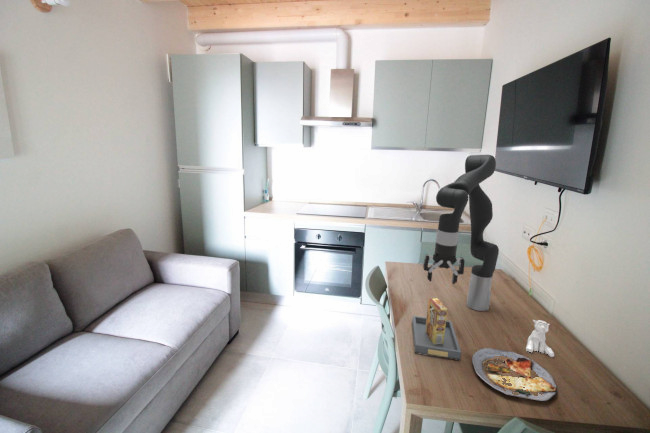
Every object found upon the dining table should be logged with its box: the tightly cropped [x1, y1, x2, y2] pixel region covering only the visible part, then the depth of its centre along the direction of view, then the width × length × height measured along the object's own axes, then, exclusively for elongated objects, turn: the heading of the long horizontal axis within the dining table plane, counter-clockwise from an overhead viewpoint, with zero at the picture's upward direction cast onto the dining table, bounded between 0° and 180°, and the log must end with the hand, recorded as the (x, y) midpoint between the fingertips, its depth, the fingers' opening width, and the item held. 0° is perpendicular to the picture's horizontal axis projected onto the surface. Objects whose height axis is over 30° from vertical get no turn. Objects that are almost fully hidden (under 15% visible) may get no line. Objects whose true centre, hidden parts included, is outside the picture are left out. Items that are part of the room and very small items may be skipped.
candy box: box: [425, 298, 448, 345], centre depth 122 cm, size 9×4×15 cm, turn 5°
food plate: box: [471, 347, 558, 402], centre depth 106 cm, size 25×23×4 cm
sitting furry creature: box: [525, 319, 555, 358], centre depth 120 cm, size 10×9×12 cm
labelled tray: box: [411, 315, 462, 361], centre depth 124 cm, size 16×21×4 cm
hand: (441, 281), depth 118 cm, fingers open, 8 cm apart
